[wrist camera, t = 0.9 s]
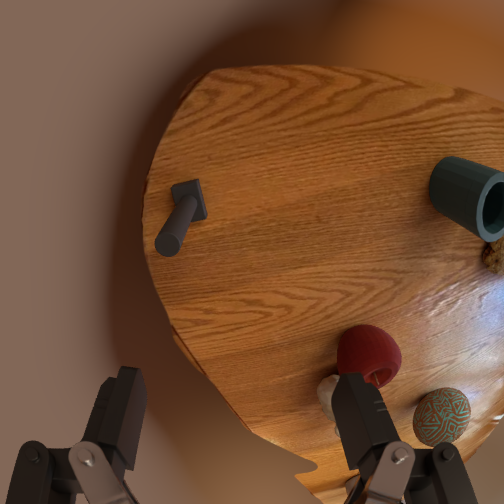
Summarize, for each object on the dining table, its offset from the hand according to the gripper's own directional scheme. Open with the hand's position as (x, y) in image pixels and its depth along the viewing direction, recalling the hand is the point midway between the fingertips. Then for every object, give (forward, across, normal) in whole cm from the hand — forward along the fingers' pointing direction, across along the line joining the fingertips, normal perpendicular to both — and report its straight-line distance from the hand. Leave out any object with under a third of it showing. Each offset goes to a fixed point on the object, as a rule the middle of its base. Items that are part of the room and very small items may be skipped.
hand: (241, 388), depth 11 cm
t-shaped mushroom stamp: (+25, +5, 0) cm, 26 cm away
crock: (+25, -30, -6) cm, 39 cm away
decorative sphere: (+25, -49, +42) cm, 70 cm away
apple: (+25, -20, +20) cm, 38 cm away
